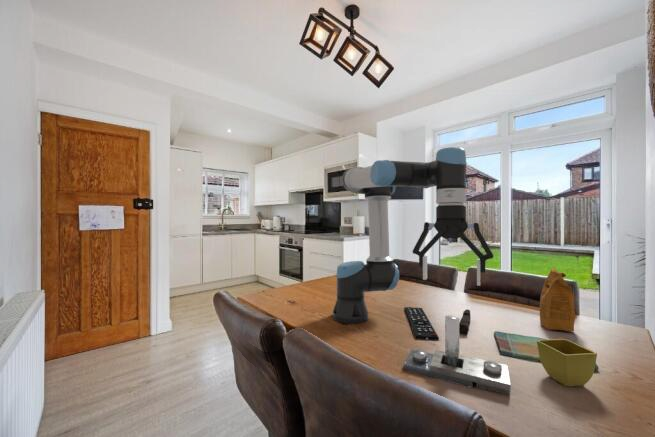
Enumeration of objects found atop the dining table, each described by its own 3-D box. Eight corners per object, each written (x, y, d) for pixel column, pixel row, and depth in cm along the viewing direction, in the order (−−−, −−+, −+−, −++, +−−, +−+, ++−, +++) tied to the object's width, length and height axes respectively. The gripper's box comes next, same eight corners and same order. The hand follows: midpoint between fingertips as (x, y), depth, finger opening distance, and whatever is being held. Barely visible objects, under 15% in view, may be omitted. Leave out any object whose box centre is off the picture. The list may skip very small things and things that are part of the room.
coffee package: (568, 323, 111) (567, 268, 111) (578, 335, 100) (577, 274, 100) (537, 319, 115) (536, 266, 115) (543, 330, 104) (543, 271, 104)
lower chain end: (403, 369, 78) (403, 357, 78) (411, 354, 86) (411, 342, 86) (472, 387, 69) (472, 373, 69) (473, 368, 78) (473, 356, 78)
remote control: (415, 340, 97) (415, 335, 97) (404, 310, 129) (404, 306, 129) (438, 342, 96) (438, 336, 96) (421, 311, 127) (421, 306, 127)
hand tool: (468, 336, 100) (468, 323, 99) (456, 333, 102) (456, 321, 102) (475, 320, 115) (475, 309, 115) (464, 318, 117) (465, 307, 117)
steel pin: (444, 373, 75) (444, 318, 75) (446, 367, 78) (446, 314, 78) (458, 377, 74) (458, 320, 74) (459, 371, 77) (459, 316, 77)
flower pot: (535, 372, 76) (535, 339, 76) (565, 370, 77) (564, 338, 77) (565, 392, 67) (565, 355, 67) (598, 390, 68) (598, 353, 68)
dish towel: (600, 374, 76) (600, 365, 76) (500, 357, 85) (500, 348, 85) (575, 348, 91) (575, 340, 91) (493, 335, 101) (493, 328, 101)
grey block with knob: (429, 376, 74) (429, 359, 74) (435, 359, 83) (435, 344, 83) (510, 397, 65) (510, 378, 65) (507, 376, 74) (507, 359, 74)
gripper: (402, 205, 80) (402, 279, 80) (505, 203, 67) (505, 290, 67) (408, 206, 86) (408, 274, 86) (503, 204, 74) (503, 284, 74)
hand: (450, 281), depth 77 cm, fingers open, 13 cm apart
